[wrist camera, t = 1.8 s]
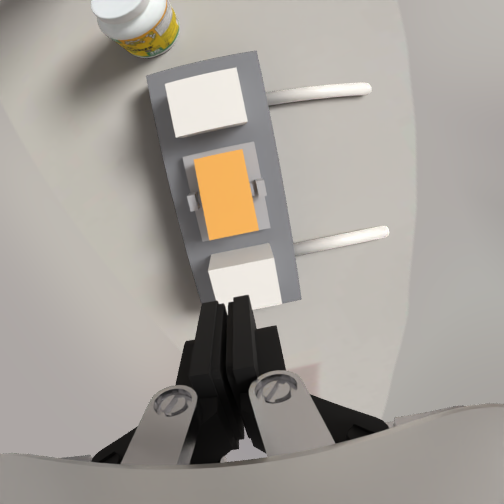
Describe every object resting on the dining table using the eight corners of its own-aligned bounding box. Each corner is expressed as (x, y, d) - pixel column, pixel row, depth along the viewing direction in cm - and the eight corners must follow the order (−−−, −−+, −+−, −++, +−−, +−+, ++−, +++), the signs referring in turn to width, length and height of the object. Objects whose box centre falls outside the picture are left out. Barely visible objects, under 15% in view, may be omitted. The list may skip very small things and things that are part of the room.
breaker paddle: (194, 163, 24) (190, 160, 22) (245, 152, 23) (245, 148, 22) (209, 240, 24) (206, 241, 23) (261, 229, 24) (261, 229, 23)
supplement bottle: (189, 16, 22) (171, -32, 13) (166, 65, 24) (136, 33, 15) (138, 6, 21) (104, -38, 12) (116, 53, 23) (69, 24, 14)
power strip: (154, 81, 24) (133, 67, 18) (359, 50, 24) (389, 32, 18) (208, 302, 32) (202, 339, 26) (387, 264, 32) (416, 292, 26)
